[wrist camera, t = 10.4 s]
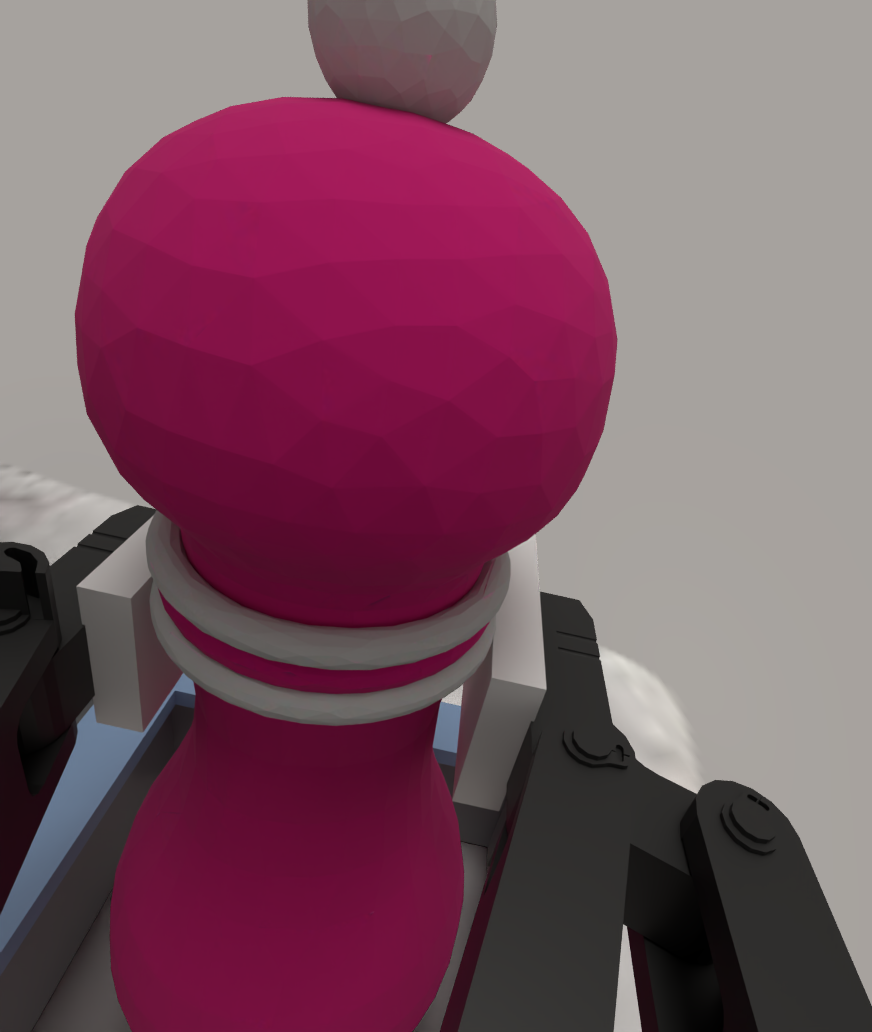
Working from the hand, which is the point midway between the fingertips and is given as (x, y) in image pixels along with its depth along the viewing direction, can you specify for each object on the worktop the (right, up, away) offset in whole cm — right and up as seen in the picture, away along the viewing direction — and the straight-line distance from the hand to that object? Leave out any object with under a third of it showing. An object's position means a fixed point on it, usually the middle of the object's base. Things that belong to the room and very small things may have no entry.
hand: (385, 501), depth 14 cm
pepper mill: (-3, -12, +1) cm, 12 cm away
